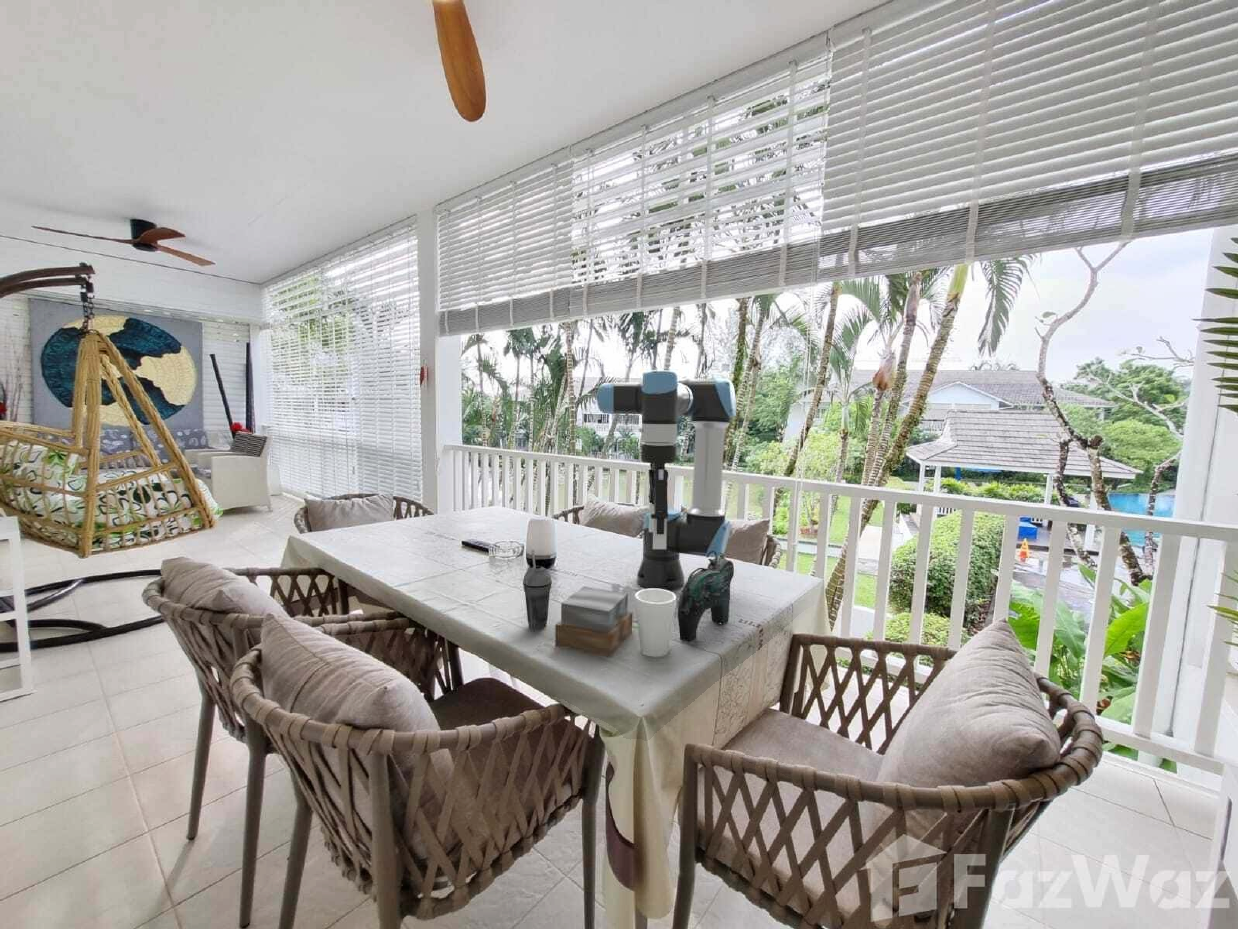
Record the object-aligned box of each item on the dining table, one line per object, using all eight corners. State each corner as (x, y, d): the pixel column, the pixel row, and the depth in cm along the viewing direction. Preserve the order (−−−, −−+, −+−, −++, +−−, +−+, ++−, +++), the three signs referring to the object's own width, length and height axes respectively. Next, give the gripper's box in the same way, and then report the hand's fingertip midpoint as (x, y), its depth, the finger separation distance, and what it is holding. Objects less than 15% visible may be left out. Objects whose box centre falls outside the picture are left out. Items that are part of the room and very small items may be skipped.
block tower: (581, 621, 129) (581, 584, 128) (632, 631, 124) (632, 592, 123) (555, 645, 116) (555, 604, 115) (610, 657, 111) (611, 614, 110)
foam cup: (626, 653, 113) (627, 598, 111) (644, 637, 121) (645, 585, 119) (665, 664, 108) (667, 606, 107) (680, 646, 116) (682, 593, 115)
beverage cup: (554, 630, 124) (554, 552, 122) (525, 634, 121) (524, 554, 119) (548, 619, 131) (548, 544, 128) (520, 622, 128) (520, 546, 126)
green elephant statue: (717, 614, 135) (720, 542, 133) (738, 621, 131) (741, 547, 128) (672, 638, 121) (674, 558, 119) (694, 647, 116) (696, 564, 114)
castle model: (661, 608, 140) (661, 583, 139) (640, 629, 126) (640, 601, 126) (613, 599, 146) (613, 574, 145) (588, 618, 133) (588, 591, 132)
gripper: (639, 439, 119) (637, 525, 122) (644, 448, 94) (642, 556, 97) (670, 439, 119) (668, 526, 122) (683, 449, 95) (681, 557, 97)
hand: (656, 540), depth 109 cm, fingers open, 13 cm apart
